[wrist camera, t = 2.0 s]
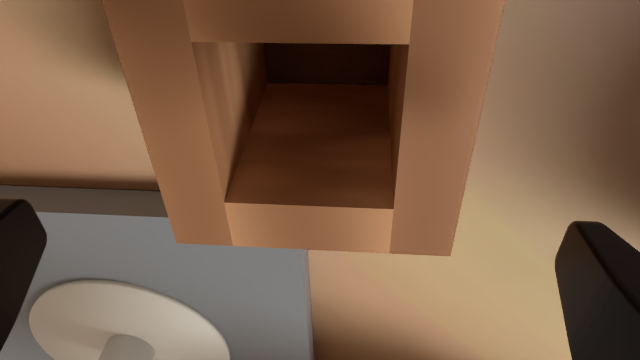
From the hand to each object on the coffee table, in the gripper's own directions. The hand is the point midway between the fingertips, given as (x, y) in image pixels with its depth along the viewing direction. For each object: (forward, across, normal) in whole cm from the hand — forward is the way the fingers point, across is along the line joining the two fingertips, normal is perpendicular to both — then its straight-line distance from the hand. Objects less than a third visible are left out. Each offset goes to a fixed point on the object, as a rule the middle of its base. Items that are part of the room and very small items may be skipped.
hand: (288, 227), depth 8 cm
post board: (+9, +10, +16) cm, 21 cm away
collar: (+9, 0, 0) cm, 9 cm away
